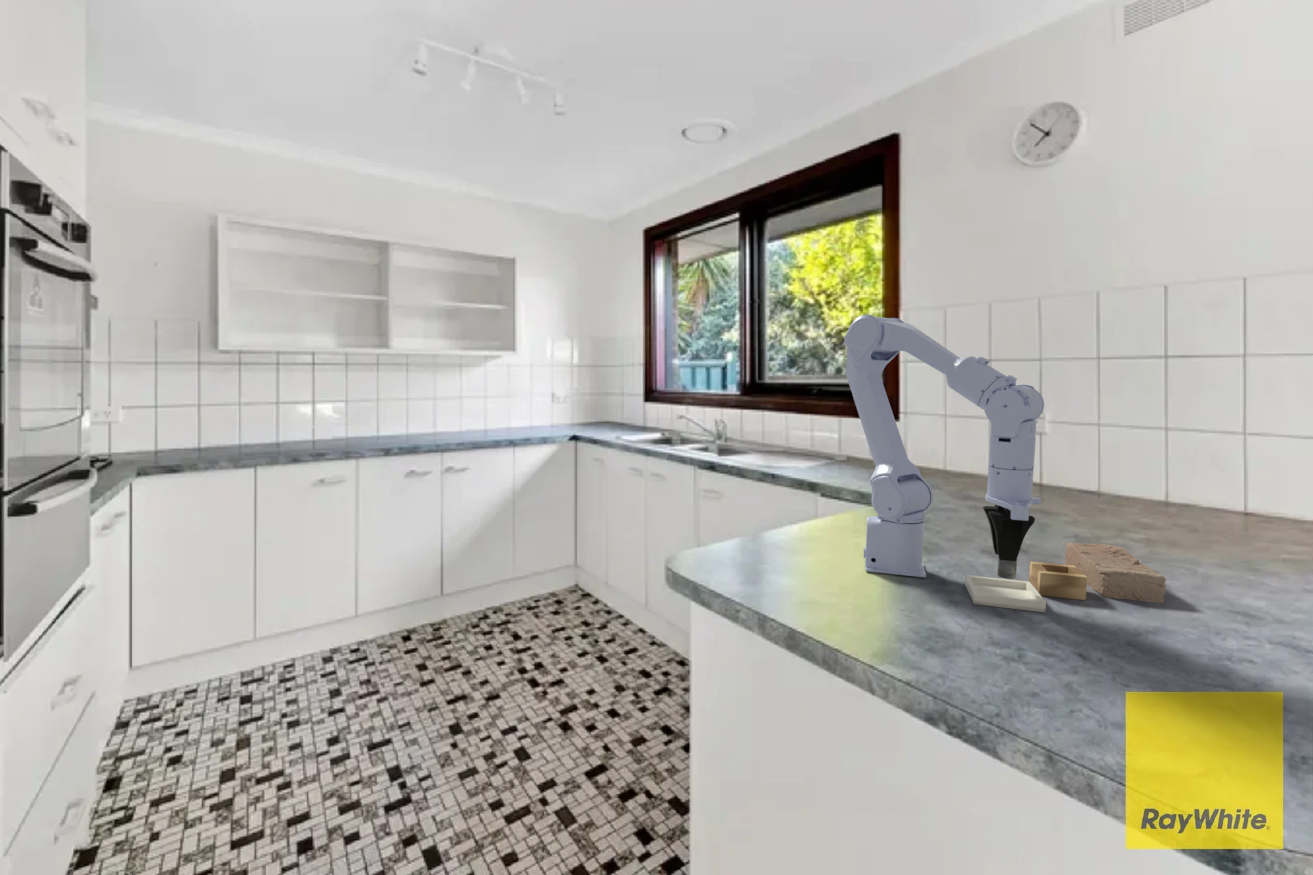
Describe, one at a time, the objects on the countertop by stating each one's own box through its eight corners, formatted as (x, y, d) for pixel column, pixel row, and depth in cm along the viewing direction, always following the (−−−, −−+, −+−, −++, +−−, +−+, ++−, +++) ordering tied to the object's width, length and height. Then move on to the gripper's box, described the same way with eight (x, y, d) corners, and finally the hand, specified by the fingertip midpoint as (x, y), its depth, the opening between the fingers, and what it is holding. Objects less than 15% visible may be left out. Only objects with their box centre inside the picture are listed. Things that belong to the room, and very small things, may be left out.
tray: (973, 604, 86) (974, 594, 86) (964, 583, 94) (964, 574, 94) (1045, 612, 83) (1046, 602, 83) (1028, 590, 91) (1029, 581, 91)
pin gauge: (1000, 578, 87) (1002, 535, 86) (995, 572, 89) (997, 531, 89) (1018, 579, 86) (1021, 536, 86) (1012, 574, 89) (1015, 532, 88)
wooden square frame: (1038, 595, 89) (1040, 572, 89) (1028, 582, 95) (1030, 561, 95) (1085, 600, 87) (1087, 577, 87) (1072, 586, 93) (1073, 565, 93)
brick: (1168, 605, 86) (1171, 574, 86) (1101, 598, 89) (1103, 568, 88) (1117, 571, 102) (1119, 545, 102) (1061, 566, 105) (1063, 540, 104)
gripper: (1057, 476, 78) (1050, 575, 80) (1029, 462, 92) (1023, 546, 93) (997, 473, 81) (991, 569, 82) (978, 460, 94) (973, 542, 96)
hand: (1005, 557), depth 88 cm, fingers closed on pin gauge, 2 cm apart
